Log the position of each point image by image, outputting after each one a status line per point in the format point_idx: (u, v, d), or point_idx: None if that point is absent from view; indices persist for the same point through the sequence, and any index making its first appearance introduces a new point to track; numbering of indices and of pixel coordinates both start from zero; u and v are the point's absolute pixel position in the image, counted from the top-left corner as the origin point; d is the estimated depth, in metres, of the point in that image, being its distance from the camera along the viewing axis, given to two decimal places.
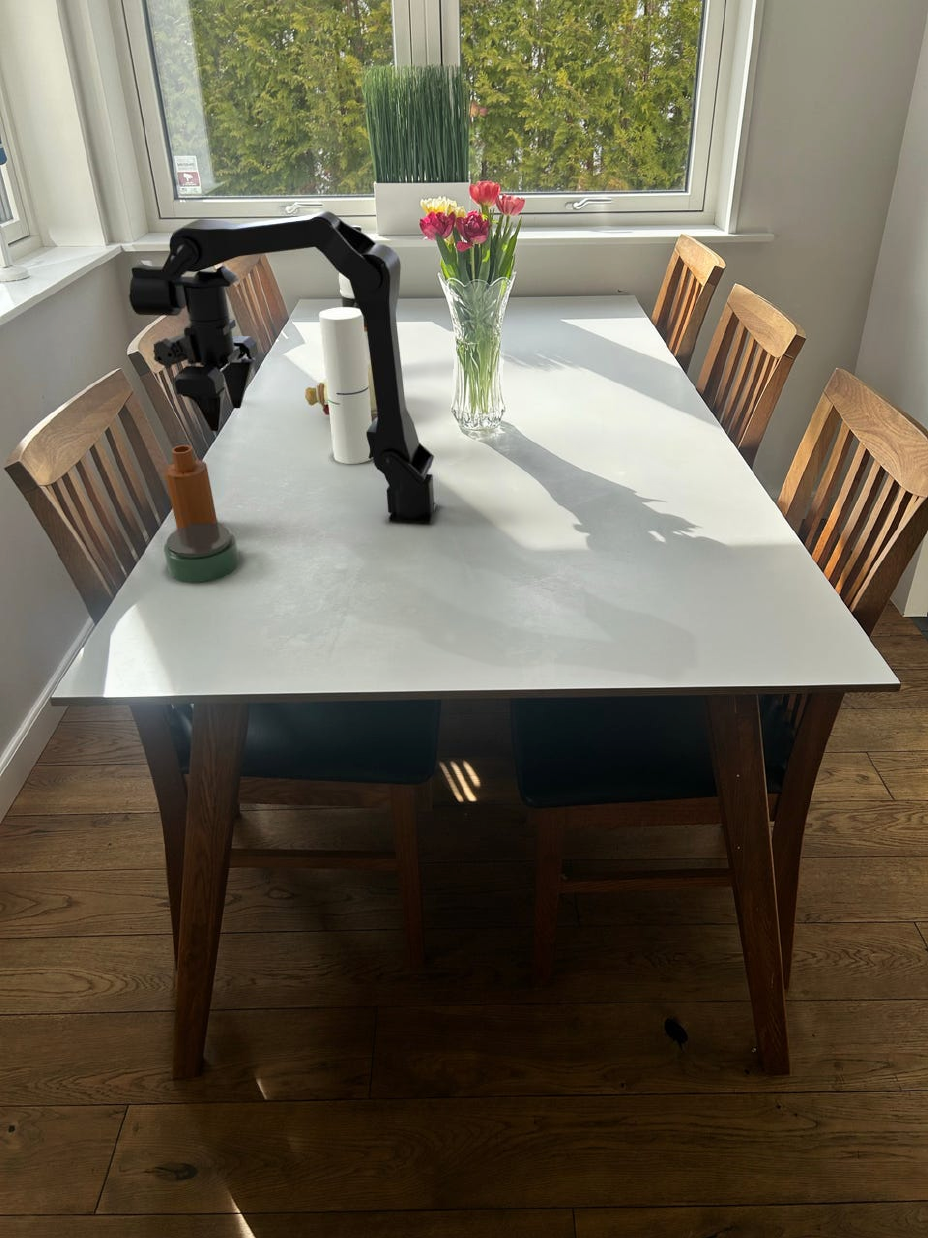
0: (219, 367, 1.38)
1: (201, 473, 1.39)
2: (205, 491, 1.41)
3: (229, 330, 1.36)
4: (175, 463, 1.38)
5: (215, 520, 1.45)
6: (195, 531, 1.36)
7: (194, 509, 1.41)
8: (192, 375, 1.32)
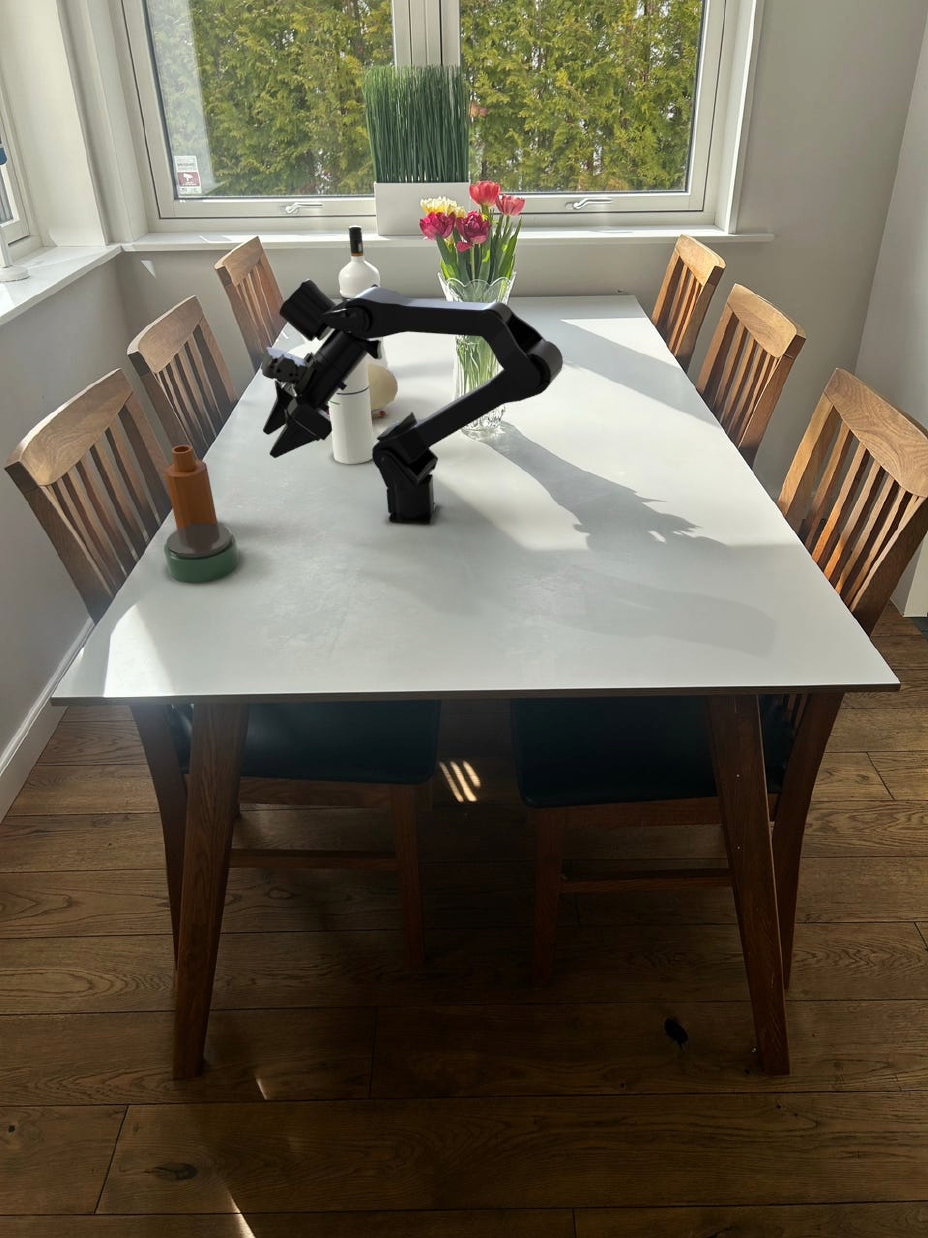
0: None
1: (201, 473, 1.39)
2: (205, 491, 1.41)
3: None
4: (175, 463, 1.38)
5: (215, 520, 1.45)
6: (195, 531, 1.36)
7: (194, 509, 1.41)
8: (319, 414, 1.32)
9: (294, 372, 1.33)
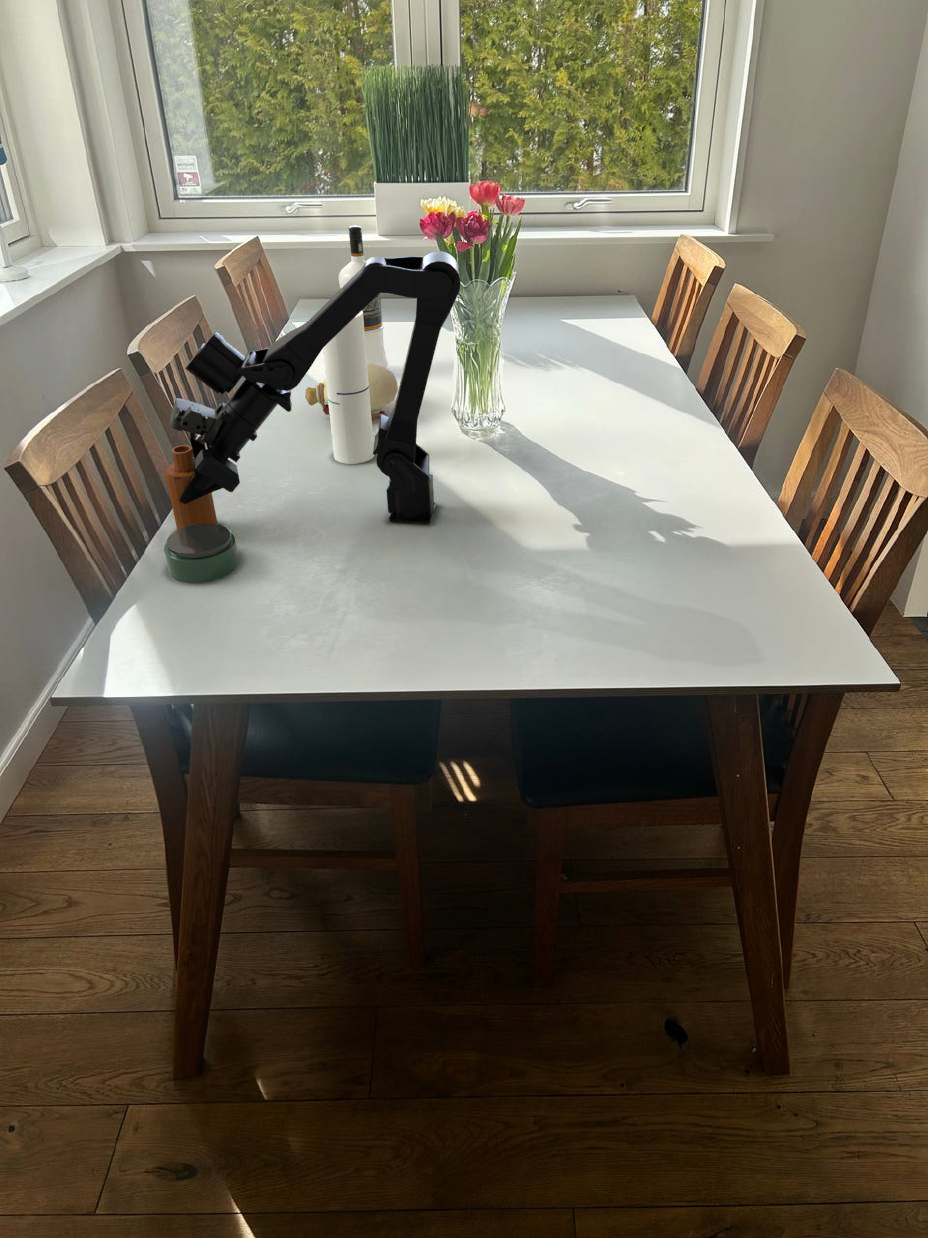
0: None
1: None
2: None
3: None
4: (175, 463, 1.38)
5: (215, 520, 1.45)
6: (195, 531, 1.36)
7: (194, 509, 1.41)
8: (225, 467, 1.32)
9: (201, 425, 1.33)
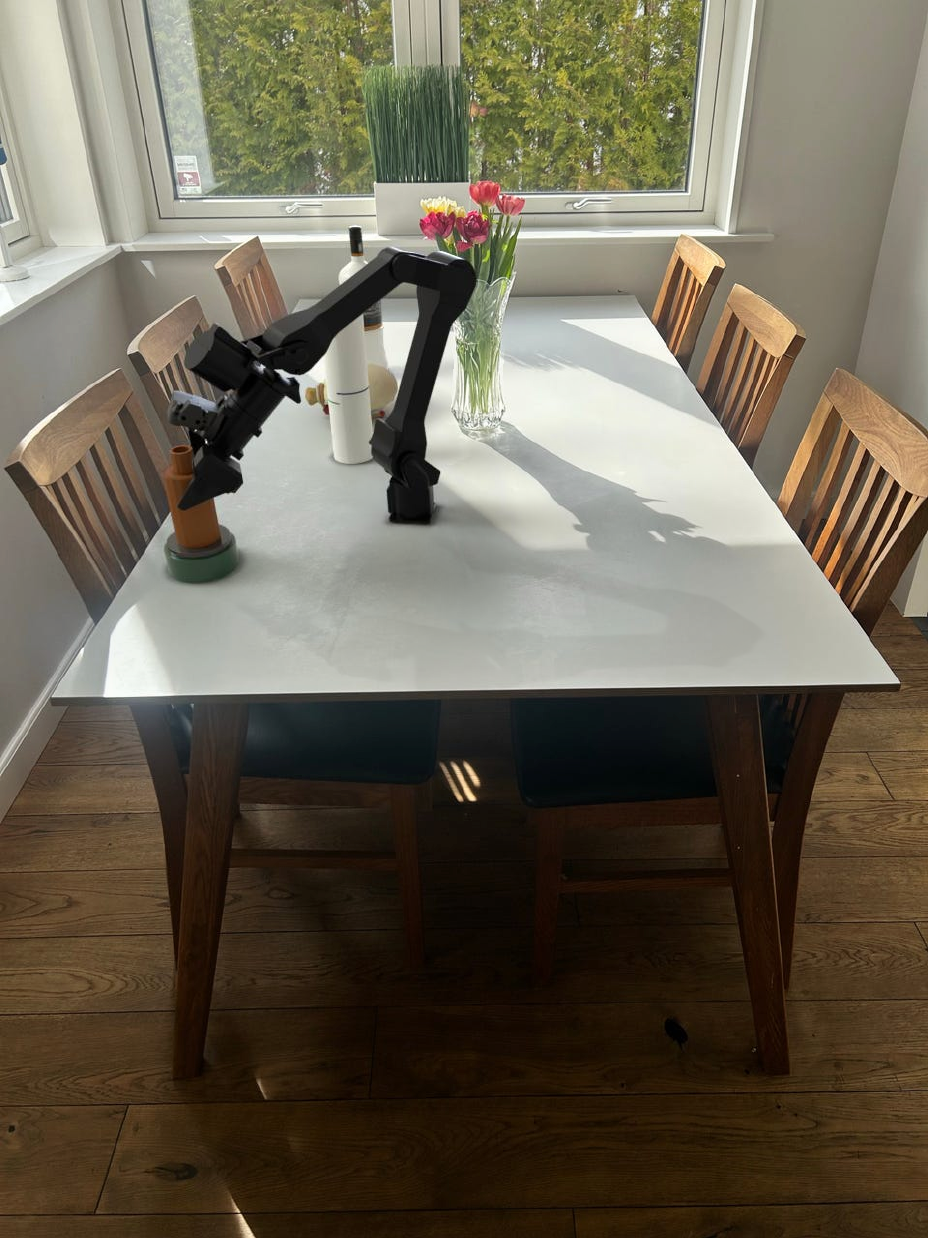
0: None
1: None
2: None
3: None
4: (174, 465, 1.27)
5: (217, 526, 1.33)
6: None
7: (195, 515, 1.29)
8: (227, 466, 1.21)
9: (201, 419, 1.21)
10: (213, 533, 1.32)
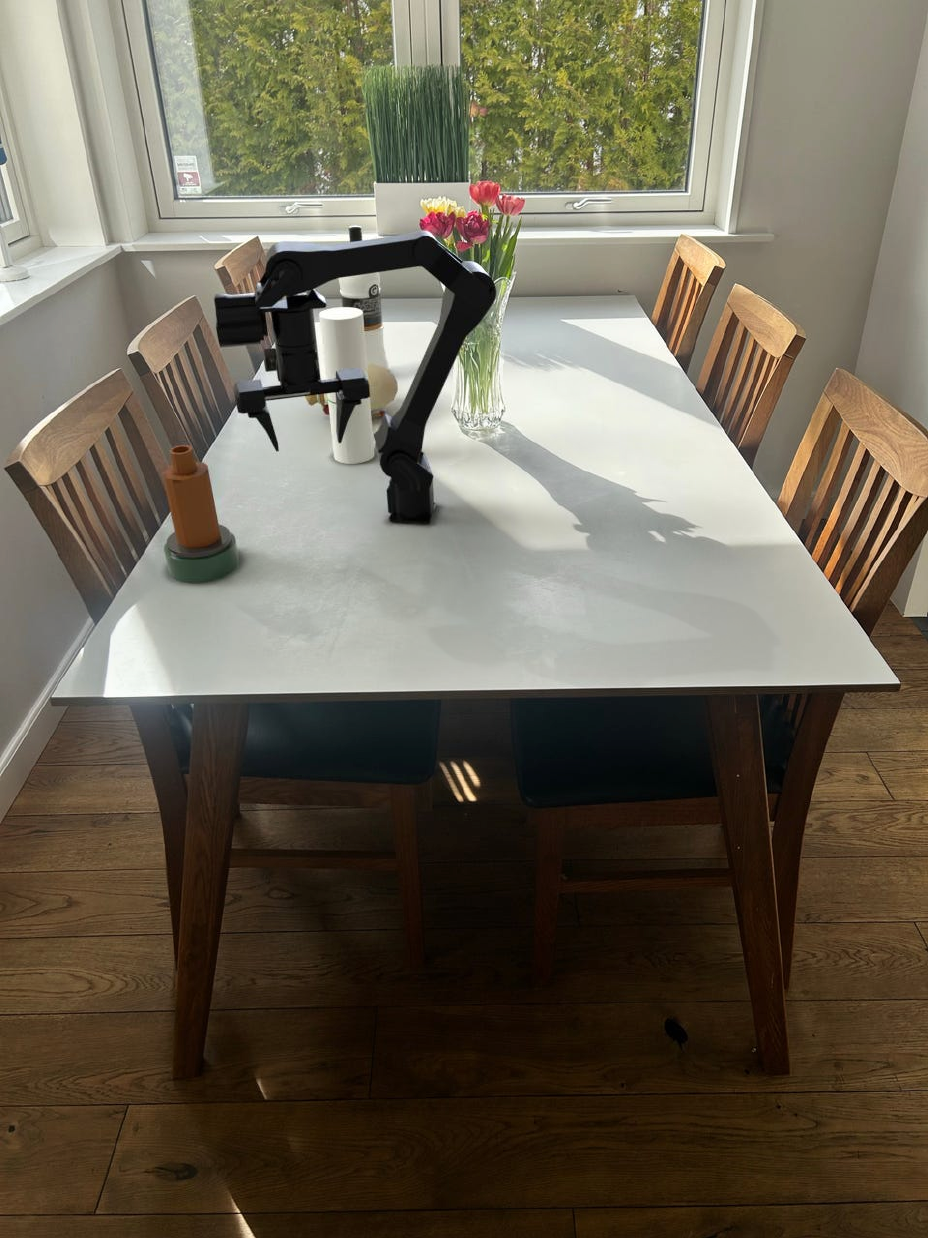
0: (288, 392, 1.33)
1: (202, 476, 1.28)
2: (206, 495, 1.29)
3: (299, 361, 1.29)
4: (174, 465, 1.27)
5: (217, 526, 1.33)
6: None
7: (195, 515, 1.29)
8: (236, 388, 1.32)
9: (264, 360, 1.36)
10: (213, 533, 1.32)
